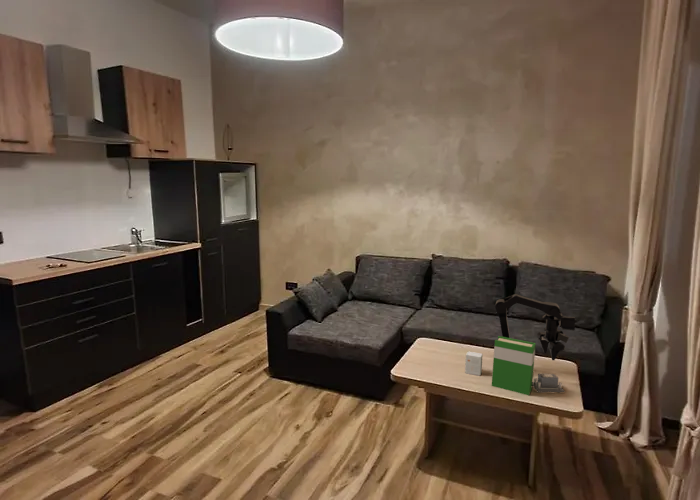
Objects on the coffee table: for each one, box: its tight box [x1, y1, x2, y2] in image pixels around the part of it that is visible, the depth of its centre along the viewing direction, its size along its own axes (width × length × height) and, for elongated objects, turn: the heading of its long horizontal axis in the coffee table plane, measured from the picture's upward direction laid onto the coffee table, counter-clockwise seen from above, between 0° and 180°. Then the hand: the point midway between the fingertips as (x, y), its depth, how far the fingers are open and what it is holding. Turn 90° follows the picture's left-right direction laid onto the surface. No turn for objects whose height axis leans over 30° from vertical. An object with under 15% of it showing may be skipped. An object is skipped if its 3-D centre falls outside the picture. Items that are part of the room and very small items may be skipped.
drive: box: [537, 373, 559, 388], centre depth 216 cm, size 8×4×6 cm, turn 90°
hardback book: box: [491, 335, 537, 396], centre depth 215 cm, size 18×7×24 cm, turn 58°
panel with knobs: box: [532, 377, 566, 393], centre depth 216 cm, size 13×9×4 cm
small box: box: [464, 351, 483, 377], centre depth 232 cm, size 8×6×10 cm
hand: (549, 356), depth 226 cm, fingers open, 9 cm apart
